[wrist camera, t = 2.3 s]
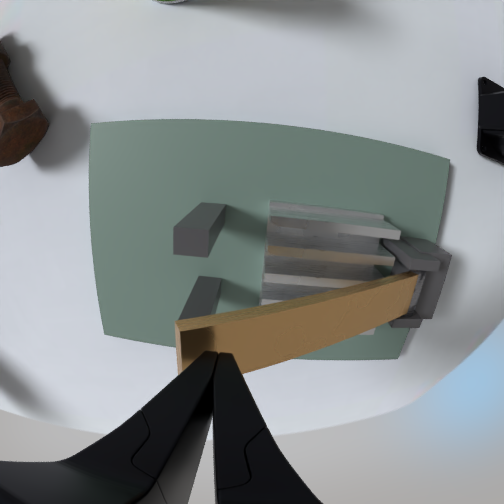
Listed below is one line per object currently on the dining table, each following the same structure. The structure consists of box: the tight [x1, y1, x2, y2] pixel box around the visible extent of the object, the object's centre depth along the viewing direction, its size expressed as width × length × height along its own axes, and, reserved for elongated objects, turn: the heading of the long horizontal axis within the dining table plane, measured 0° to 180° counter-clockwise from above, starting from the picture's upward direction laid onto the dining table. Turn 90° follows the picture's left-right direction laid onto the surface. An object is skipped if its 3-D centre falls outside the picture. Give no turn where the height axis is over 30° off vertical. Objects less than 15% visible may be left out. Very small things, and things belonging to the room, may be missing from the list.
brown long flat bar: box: [175, 270, 427, 375], centre depth 12 cm, size 14×3×1 cm
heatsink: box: [259, 200, 401, 335], centre depth 17 cm, size 7×7×3 cm
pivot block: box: [380, 236, 452, 328], centre depth 17 cm, size 4×4×4 cm
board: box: [89, 119, 450, 360], centre depth 19 cm, size 24×16×1 cm, turn 85°
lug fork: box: [173, 202, 226, 320], centre depth 16 cm, size 2×6×6 cm, turn 175°
